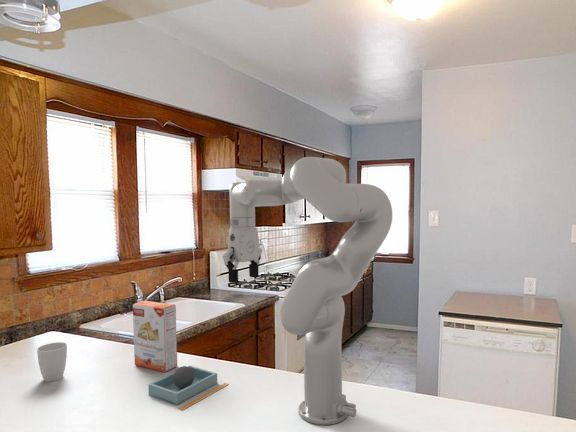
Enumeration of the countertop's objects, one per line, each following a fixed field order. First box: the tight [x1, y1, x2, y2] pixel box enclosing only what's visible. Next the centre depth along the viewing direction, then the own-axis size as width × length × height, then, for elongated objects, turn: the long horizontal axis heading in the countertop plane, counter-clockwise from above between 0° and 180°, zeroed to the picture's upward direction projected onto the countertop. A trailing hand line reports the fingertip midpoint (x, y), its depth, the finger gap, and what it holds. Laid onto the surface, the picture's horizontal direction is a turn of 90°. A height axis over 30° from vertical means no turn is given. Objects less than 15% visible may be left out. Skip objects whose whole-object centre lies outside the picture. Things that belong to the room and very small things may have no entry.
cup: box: [36, 341, 68, 383], centre depth 130 cm, size 8×8×10 cm
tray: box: [147, 365, 230, 411], centre depth 120 cm, size 15×18×3 cm
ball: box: [173, 365, 194, 388], centre depth 121 cm, size 6×6×6 cm
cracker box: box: [132, 300, 178, 373], centre depth 138 cm, size 14×6×21 cm, turn 62°
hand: (244, 279), depth 127 cm, fingers open, 9 cm apart
